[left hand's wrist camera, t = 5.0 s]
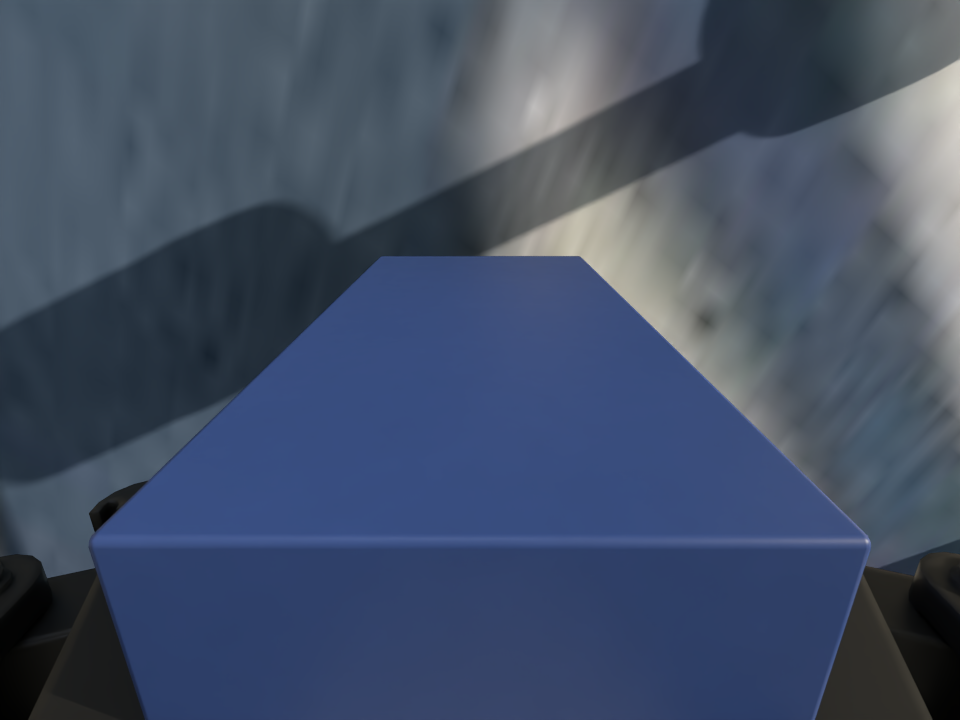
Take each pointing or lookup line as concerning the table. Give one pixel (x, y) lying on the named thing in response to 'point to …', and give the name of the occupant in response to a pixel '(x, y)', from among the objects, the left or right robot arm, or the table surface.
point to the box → (479, 523)
